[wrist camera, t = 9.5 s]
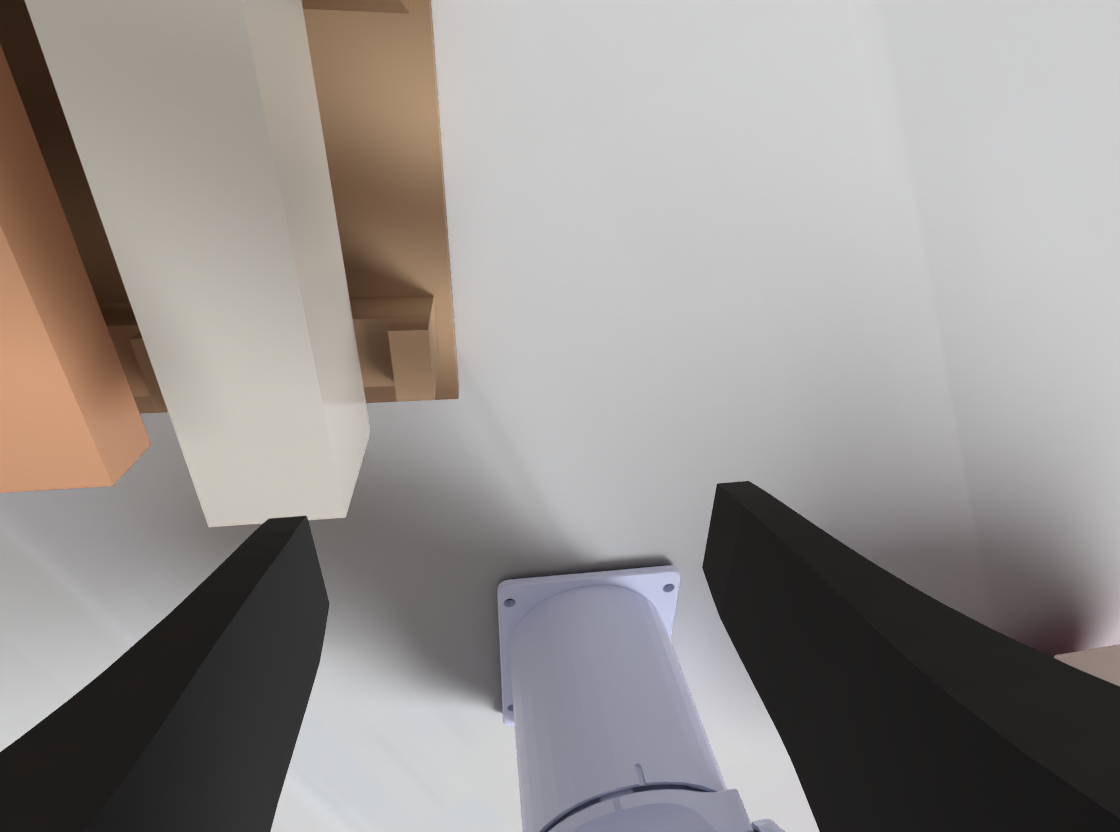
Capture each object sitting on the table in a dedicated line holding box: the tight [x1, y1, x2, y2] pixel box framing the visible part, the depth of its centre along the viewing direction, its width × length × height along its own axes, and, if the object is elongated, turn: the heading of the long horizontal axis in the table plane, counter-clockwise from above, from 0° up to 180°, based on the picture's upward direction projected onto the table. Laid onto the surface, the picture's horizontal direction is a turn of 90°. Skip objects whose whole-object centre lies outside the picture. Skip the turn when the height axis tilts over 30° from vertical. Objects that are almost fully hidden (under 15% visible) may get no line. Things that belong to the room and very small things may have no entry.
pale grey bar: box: [25, 0, 371, 527], centre depth 12 cm, size 14×3×4 cm, turn 178°
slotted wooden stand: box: [0, 0, 459, 413], centre depth 14 cm, size 14×14×4 cm
